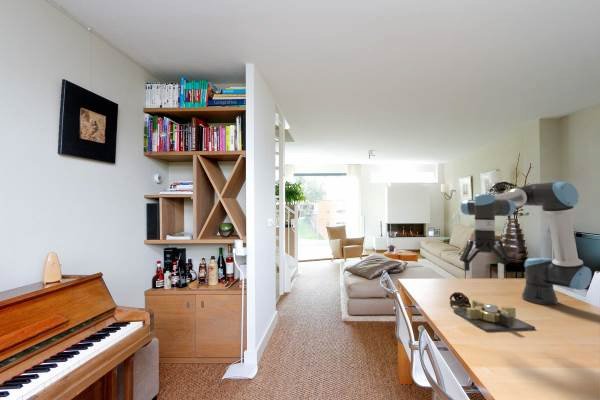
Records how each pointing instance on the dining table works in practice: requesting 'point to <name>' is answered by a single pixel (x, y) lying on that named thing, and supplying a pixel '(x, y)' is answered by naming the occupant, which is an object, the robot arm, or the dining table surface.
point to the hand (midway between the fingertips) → (484, 278)
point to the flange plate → (494, 326)
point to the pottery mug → (459, 299)
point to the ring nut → (502, 316)
